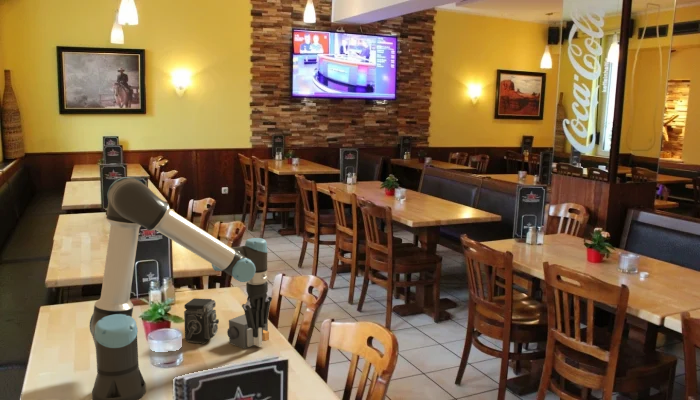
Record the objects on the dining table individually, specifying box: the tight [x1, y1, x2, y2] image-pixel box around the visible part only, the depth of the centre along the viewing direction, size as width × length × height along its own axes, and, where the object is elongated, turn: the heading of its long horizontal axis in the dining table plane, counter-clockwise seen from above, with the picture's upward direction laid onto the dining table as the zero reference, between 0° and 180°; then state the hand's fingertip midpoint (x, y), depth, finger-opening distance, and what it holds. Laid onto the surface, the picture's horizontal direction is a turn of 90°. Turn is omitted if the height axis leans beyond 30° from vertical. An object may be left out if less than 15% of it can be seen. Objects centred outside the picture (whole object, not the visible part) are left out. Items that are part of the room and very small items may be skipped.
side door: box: [247, 328, 270, 348], centre depth 215 cm, size 6×5×6 cm
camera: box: [183, 297, 220, 344], centre depth 221 cm, size 10×10×15 cm
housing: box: [226, 313, 269, 350], centre depth 220 cm, size 14×8×10 cm, turn 144°
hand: (258, 344), depth 214 cm, fingers closed
